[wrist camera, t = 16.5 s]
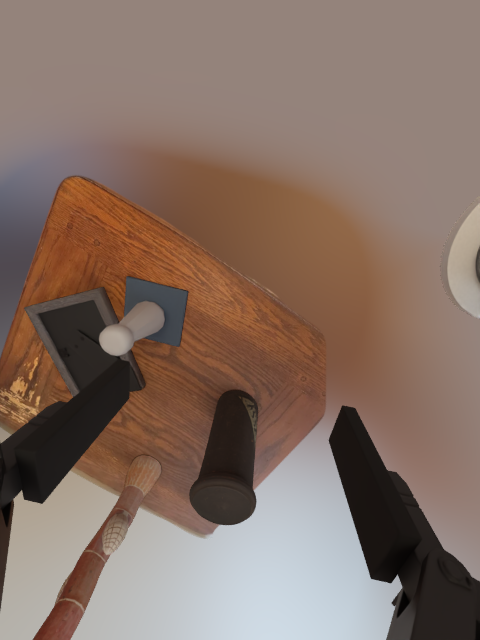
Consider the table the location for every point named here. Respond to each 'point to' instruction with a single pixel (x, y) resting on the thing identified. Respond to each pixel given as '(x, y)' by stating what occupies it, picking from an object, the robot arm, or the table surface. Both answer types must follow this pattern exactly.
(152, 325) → the salt shaker
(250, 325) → the table surface
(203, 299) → the table surface
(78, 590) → the vase
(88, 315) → the picture frame
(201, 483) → the container
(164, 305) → the mat
